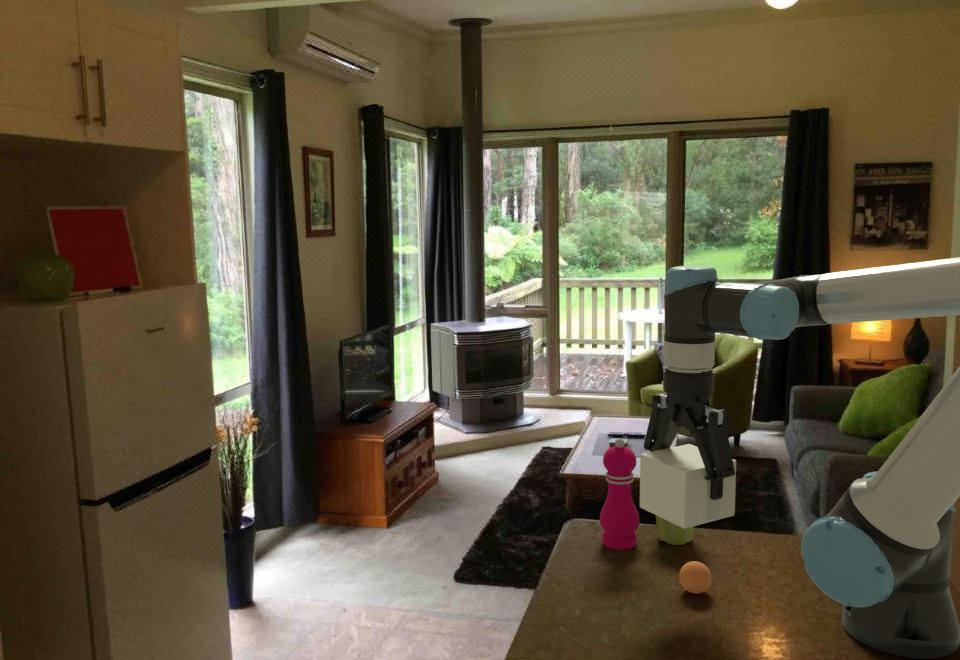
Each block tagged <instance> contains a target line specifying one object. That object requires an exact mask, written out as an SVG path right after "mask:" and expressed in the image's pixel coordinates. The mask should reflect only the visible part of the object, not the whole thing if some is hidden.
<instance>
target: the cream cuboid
mask: <svg viewBox="0 0 960 660" xmlns="http://www.w3.org/2000/svg"><path fill="white" fill-rule="evenodd" d="M639 456H640V457H639V459H640V462H639V463H640V465H639V466H640V467H639V508H640V509H643V510H644V511H646V512H648V513H651V514H654V515H655V516H656V515H657V516H659V517H661V518H663V519H665V520H667V521H669V522H671V523H673V524H675V525H677V526H679V527H682V528H684V529H686V528H689V527H693V526H694V527H696V526H700V525H703V524H707V523H711V522H715V521H718V520H723V519H726V518H729V517H734V516H735V513H736V510H735V509H736V482H737V480H736V479H737V477H736V476H737V460H736V459H733V458H732V459H733V464H734V470H735V475H734V476H731V477H726V478H724V479H723V496H722V499H720V515H719V517H718V518H714V519H711V520H707V521H706V520H703V481H704V477H707V476H708V475H707V472H706V469H705V466H704V463H703V461H702V458H701V455H700V452H699V450H698V447H697V445H693V444H691V443H686V444H683V445H678V446H673V447H672V446H671V447H670V448H667V449H662V450H657V451H652V452H650V451H648V452H643V453H640V455H639ZM714 470H716V468H714Z"/></svg>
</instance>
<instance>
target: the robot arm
mask: <svg viewBox="0 0 960 660" xmlns="http://www.w3.org/2000/svg"><path fill="white" fill-rule="evenodd" d="M664 286H665V287H664V294H663V298H664V299H663V300H664V303H663V304H664V337H663V363H662V364H663V365H664V366H665V368H664V369H663V372H662V373H663V374H662V378H663V379H662V381H663V382H662V383H663V385H662V389H663V393H656V394H653V395H652V396H651V401H652V404H651V405H652V409H651V414H650V416H649V417H650V418H649V419H648V420H649V421H648V425H647V429H646V434H645V438H644V442H643V448H644V450H645V451H648V452H652V451H657V450H662V449H667V448H671V447H672V444H673V443H674V440H676V439H675V438H676V437H677V435H678V434H679V431H680V429H681V427H683V428H684V429H686V430H688V432H689V434H690V436H691V437H693V438H694V441H695V444H696V446H697V447H698V450H699V452H700V455H701V458H702V461H703V463H704V466H705V469H706V472H707V475H708V476H707V477H704V481H703V520H706V521H707V520H711V519H714V518H718V517H719V515H720V499H722V496H723V479H724V478H726V477H731V476H734V475H735V470H734V464H733V454H732V450H731V444H730V440H729V433H728V429H727V415H728V412H727V411H726V409H725V408H724V409H716V408H712V405H711V402H710V398H711V396H712V395H713V393H714V390H715V371H714V370H713V369H712V368H713V367H714V366H715V351H716V350H715V348H716V347H715V346H716V334H724V335H726V334H727V335H733V336H739V337H745V338H746V337H747V338H753V339H756V340H760V341H761V340H762V341H764V340H775V341H778V340H779V341H780V340H784V339H787V338H788V337H789V336H790V335H791V333H792V332H793V331H794V330H795V329H796V328H800V327H812V326H825V325H834V324H849V323H864V322H879V321H893V320H908V319H909V320H910V319H921V318H922V319H923V318H936V317H950V316H951V317H952V316H960V256H956V257H949V258H942V259H941V258H940V259H931V260H924V261H916V262H908V263H907V262H906V263H900V264H898V263H897V264H890V265H885V266H884V265H883V266H877V267H876V266H875V267H874V266H873V267H866V268H858V269H851V270H850V269H849V270H844V271H835V272H827V273H822V274H821V273H819V274H811V275H810V274H805V275H804V274H802V275H795V276H792V277H787V278H782V279H774V280H766V281H759V282H752V283H751V282H749V283H748V282H747V283H745V282H744V283H743V282H727V281H726V282H725V281H720V280H719V278H718V271H717V269H716V268H715V267H714V266H705V265H679V266H674V267H673V266H672V267H670V268H669V269H668V270H667V271H666V274H665V285H664ZM714 468H716V470H714ZM959 498H960V366H958V368H957V369H956V371H954V373H953V374H952V376H951V377H950V378H949V379H948V381H947V382H946V384H945V385H944V386H943V387H942V389H941V390H940V391H938V393H937V395H936V396H935V398H934V399H933V400H932V401H931V402H930V404H928V406H927V408H926V409H925V410H924V412H923V413H922V414H921V416H920V417H919V418H918V420H917V421H916V422H915V423H914V424H913V426H912V427H911V428H910V429H909V430H908V432H907V433H906V435H905V436H904V438H902V440H901V441H900V442H899V444H897V446H896V447H895V449H894V450H893V452H892V453H891V454H890V455H889V456H888V458H887V459H886V460H885V461H884V463H883V464H882V466H881V467H880V468H879V469H878V471H877V470H876V471H871V472H867V473H866V474H864V475H863V477H862V478H861V477H860V478H856V479H855V480H853V482H851V484H850V485H849V487H848V488H847V489H846V490H845V492H844V493H843V495H842V496H841V497H840V498H839V499H838V501H837V502H836V504H835V505H834V506H833V508H832V509H831V510H830V511H829V512H828V513H827V514H826V515H825V516H824V517H823V516H822V517H820V518H818V519H816V520H815V521H813V522H812V523H811V525H810V526H809V527H808V528H807V529H806V531H805V532H804V534H803V536H802V538H801V543H800V554H801V558H802V559H803V563H804V569H805V571H806V573H807V574H808V576H809V578H810V580H811V581H812V582H813V583H814V585H816V587H817V588H818V590H820V591H821V592H822V593H823V594H825V595H826V596H827V597H829V598H830V599H832V600H834V601H835V602H836V603H839V604H842V605H843V606H842V615H841V616H842V618H841V621H842V626H843V628H844V630H845V631H846V632H847V633H848V634H849V635H850V636H851V637H852V638H854V639H855V640H857V642H860V643H862V644H863V645H866V646H868V647H869V648H872V649H874V650H877V651H880V652H883V653H886V654H889V655H893V656H896V657H897V656H898V657H902V658H909V659H920V660H932V659H940V658H941V659H942V658H946V657H947V656H951V655H953V654H954V653H955V652H956V651H958V650H959V648H960V622H959V619H958V616H957V611H956V608H955V604H954V601H953V598H952V596H951V591H950V575H951V565H952V564H951V562H952V549H953V536H954V523H955V522H954V519H955V514H956V511H957V509H956V508H955V502H956V501H957V500H958V499H959Z"/></svg>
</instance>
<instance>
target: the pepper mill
mask: <svg viewBox="0 0 960 660" xmlns="http://www.w3.org/2000/svg"><path fill="white" fill-rule="evenodd" d="M625 443H626V442H625V441H624V439H622V438H617V439H616V440H614V446H612V447H611V446H610V447H609V448H608V449H607V450H606V451H605V452H604V454H603V457H602V464H603V466H604V468H605V469H606V470H607V471H606V472H605V476H606V477H605V481H607V485H608V490H607V494H606V495H607V496H606V498H605V501H604V503H603V506H602V508H601V511H600V515H599V524H600V526H601V528H602V529H603V532H602V535H601V536H602V537H601V539H602V540H601V541H602V542H601V543H602V544H603V546H605V547H606V548H607V549H610V550H611V549H612V550H616V551H617V550H618V551H625V550H631V549H634V548H635V547H636V546H637V545H638V543H637V541H638V540H637V538H638V537H637V536H638V535H637V533H636V532H635V531H637V530H638V528H639V527H640V516H639V515H640V514H639V513H638V512H639V511H638V509H637V507H636V505H635V503H634V500H633V495H632V483H633V482H634V472H633V471H634V470H635V468H636V466H637V457H636V454H635V453H634V451H633V450H632V449H631V448H629V447H628V446H627V447H626V446H625V445H626V444H625Z"/></svg>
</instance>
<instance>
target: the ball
mask: <svg viewBox="0 0 960 660" xmlns="http://www.w3.org/2000/svg"><path fill="white" fill-rule="evenodd" d="M678 575H679V576H678V577H679V583H680V584H681V586H682V588H683V589H684V590H686V591H687V592H688V593H691V594H699V595H700V594H703V593H704V592H706V591H708V590H709V588H710V586H711V585H712V574H711V570H710V569H709V568H708V566H707V565H706V564H704V563H702V562H700V561H698V560H697V561H695V560H694V561H688V562H686V563H685V564H684V565H682V567H681V569H680V571H679V574H678Z"/></svg>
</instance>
